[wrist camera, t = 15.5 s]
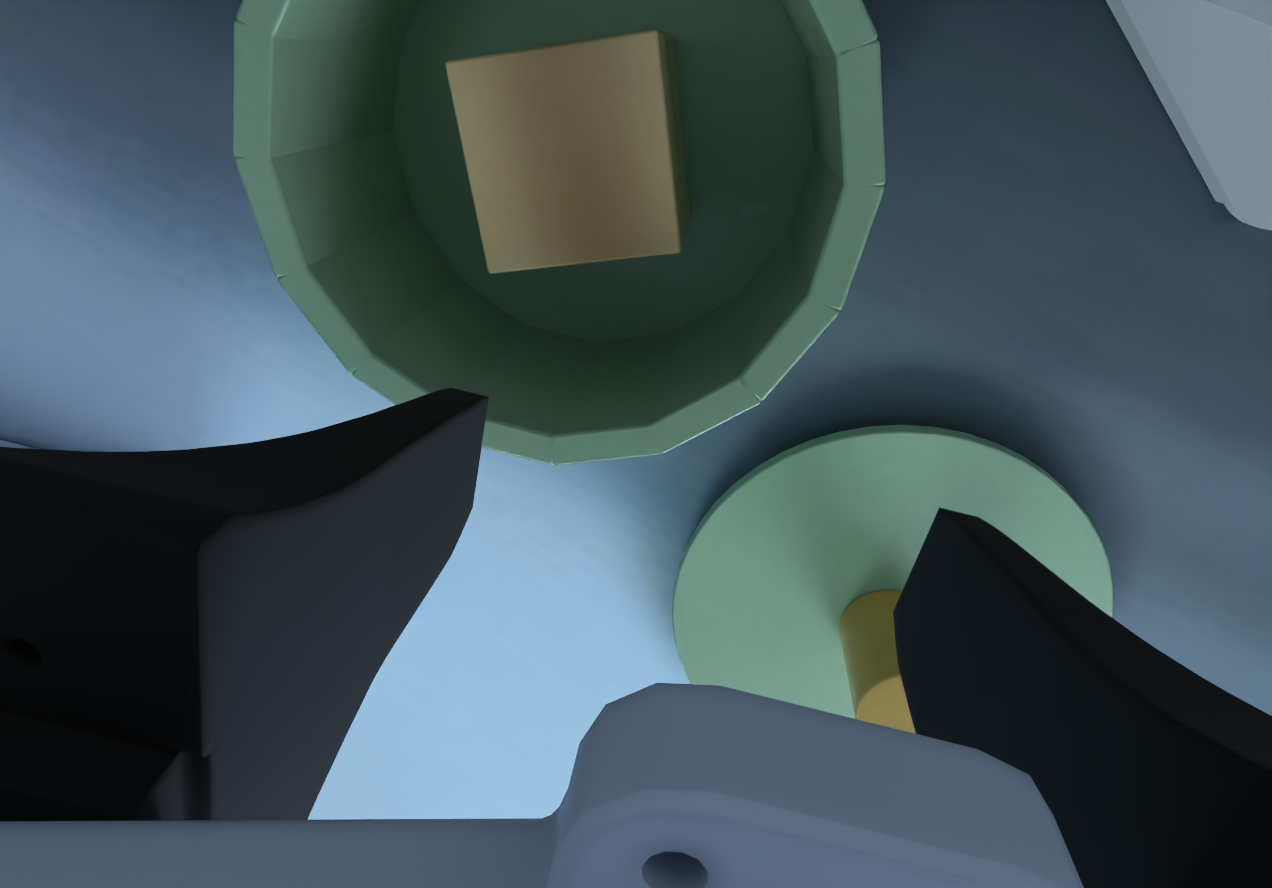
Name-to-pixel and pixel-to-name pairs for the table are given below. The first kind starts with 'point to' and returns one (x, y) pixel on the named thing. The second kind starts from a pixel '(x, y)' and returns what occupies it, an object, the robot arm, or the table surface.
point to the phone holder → (1213, 89)
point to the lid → (854, 560)
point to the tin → (573, 294)
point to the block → (575, 150)
